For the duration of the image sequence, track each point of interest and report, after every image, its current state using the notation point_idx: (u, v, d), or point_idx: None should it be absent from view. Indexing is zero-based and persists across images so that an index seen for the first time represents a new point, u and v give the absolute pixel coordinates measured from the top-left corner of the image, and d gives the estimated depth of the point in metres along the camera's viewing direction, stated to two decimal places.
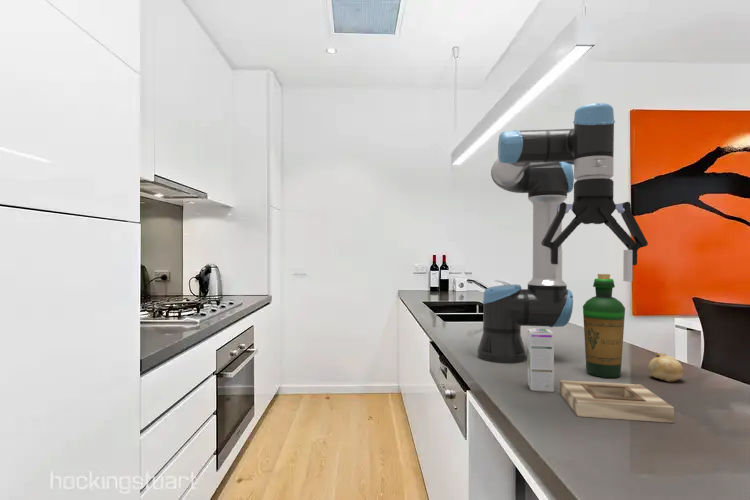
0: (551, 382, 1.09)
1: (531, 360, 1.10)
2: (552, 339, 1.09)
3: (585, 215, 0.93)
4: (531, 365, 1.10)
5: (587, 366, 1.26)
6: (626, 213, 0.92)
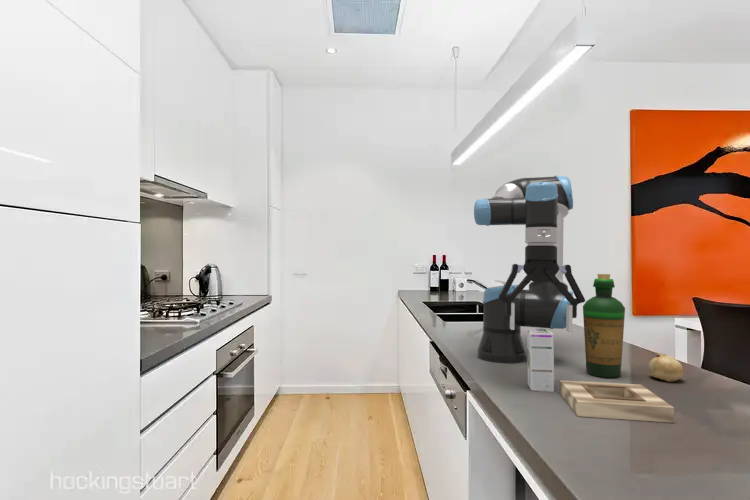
0: (551, 382, 1.09)
1: (531, 360, 1.10)
2: (552, 339, 1.09)
3: (533, 275, 1.11)
4: (531, 365, 1.10)
5: (587, 366, 1.26)
6: (567, 274, 1.10)
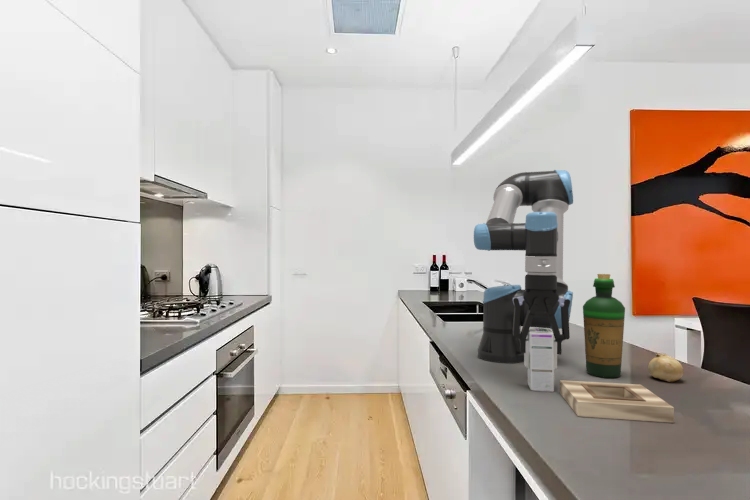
0: (551, 382, 1.09)
1: (531, 360, 1.10)
2: (552, 339, 1.09)
3: (535, 305, 1.11)
4: (531, 365, 1.10)
5: (587, 366, 1.26)
6: (563, 308, 1.10)
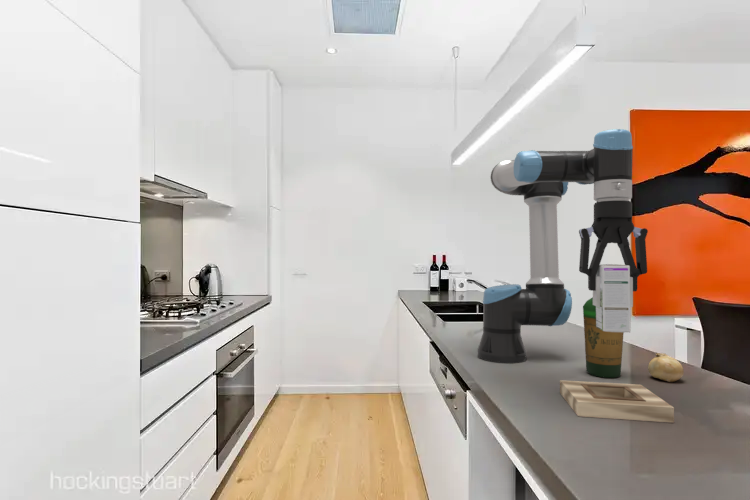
0: (627, 321, 0.96)
1: (604, 297, 0.97)
2: (628, 272, 0.96)
3: (608, 236, 0.98)
4: (604, 303, 0.97)
5: (587, 366, 1.26)
6: (640, 238, 0.97)
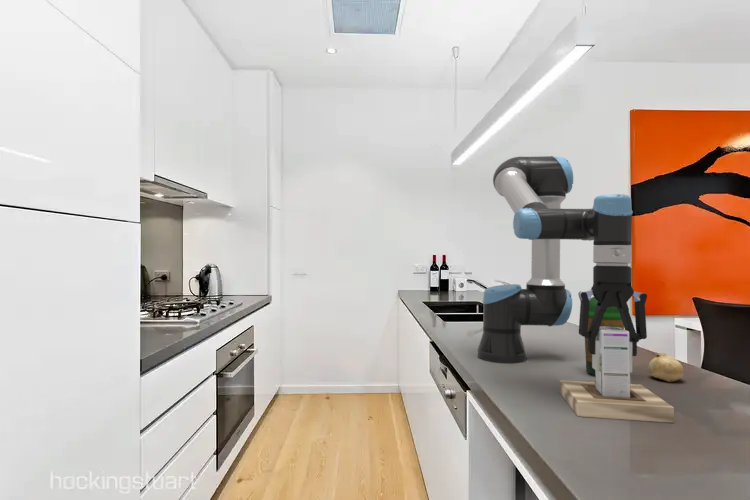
0: (627, 387, 0.96)
1: (603, 362, 0.97)
2: (628, 338, 0.96)
3: (607, 300, 0.98)
4: (603, 368, 0.97)
5: (587, 366, 1.26)
6: (640, 303, 0.97)
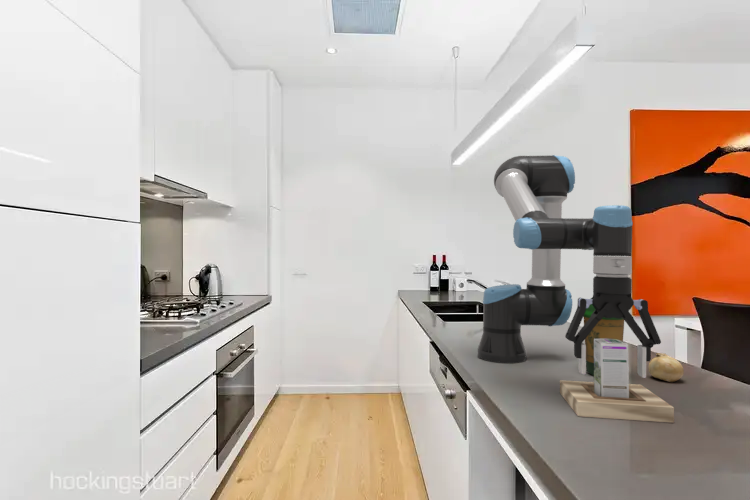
0: None
1: (602, 375, 0.97)
2: (627, 351, 0.96)
3: (605, 311, 0.98)
4: (602, 381, 0.97)
5: (587, 366, 1.26)
6: (643, 311, 0.97)
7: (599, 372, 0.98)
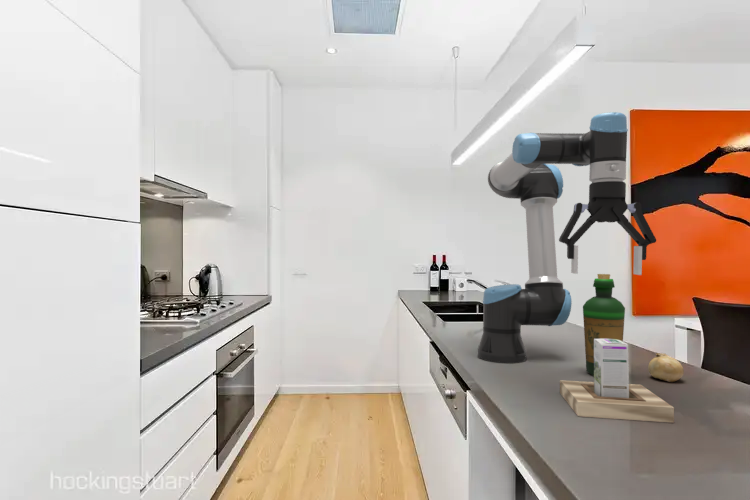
0: None
1: (602, 375, 0.97)
2: (627, 351, 0.96)
3: (599, 214, 1.02)
4: (602, 381, 0.97)
5: (587, 366, 1.26)
6: (637, 213, 1.02)
7: (599, 372, 0.98)
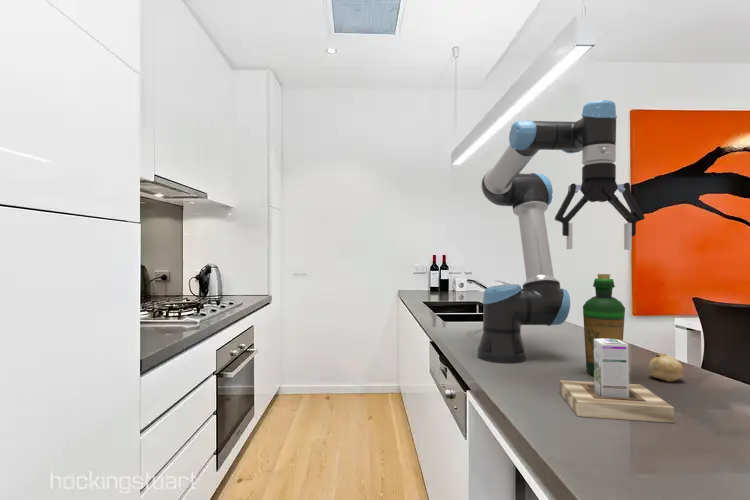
0: None
1: (602, 375, 0.97)
2: (627, 351, 0.96)
3: (592, 194, 1.11)
4: (602, 381, 0.97)
5: (587, 366, 1.26)
6: (626, 192, 1.10)
7: (599, 372, 0.98)
